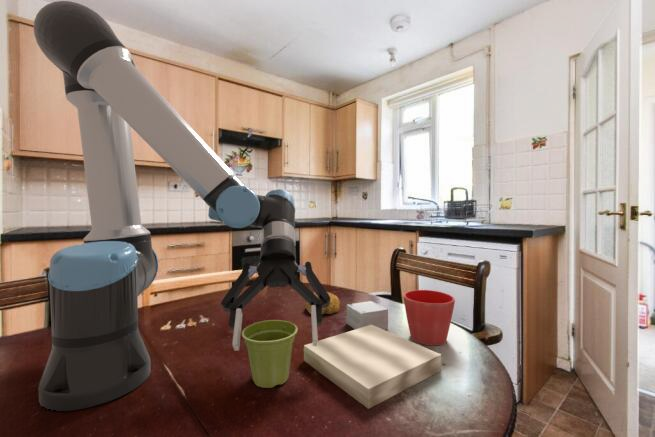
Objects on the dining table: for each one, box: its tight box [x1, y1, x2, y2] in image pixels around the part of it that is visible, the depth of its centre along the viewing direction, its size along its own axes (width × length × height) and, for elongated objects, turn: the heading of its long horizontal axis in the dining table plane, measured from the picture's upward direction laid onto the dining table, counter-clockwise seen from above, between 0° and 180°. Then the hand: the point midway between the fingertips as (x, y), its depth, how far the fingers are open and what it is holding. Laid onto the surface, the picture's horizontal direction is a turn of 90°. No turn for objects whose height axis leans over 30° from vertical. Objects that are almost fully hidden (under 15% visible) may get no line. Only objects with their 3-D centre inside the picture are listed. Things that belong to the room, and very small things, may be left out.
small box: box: [346, 300, 389, 331], centre depth 78 cm, size 8×8×5 cm
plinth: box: [303, 325, 442, 409], centre depth 58 cm, size 18×18×3 cm
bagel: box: [304, 291, 341, 316], centre depth 90 cm, size 10×11×5 cm
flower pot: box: [402, 289, 456, 346], centre depth 70 cm, size 11×11×10 cm
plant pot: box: [241, 319, 299, 389], centre depth 54 cm, size 9×9×9 cm
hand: (276, 345), depth 54 cm, fingers open, 13 cm apart
